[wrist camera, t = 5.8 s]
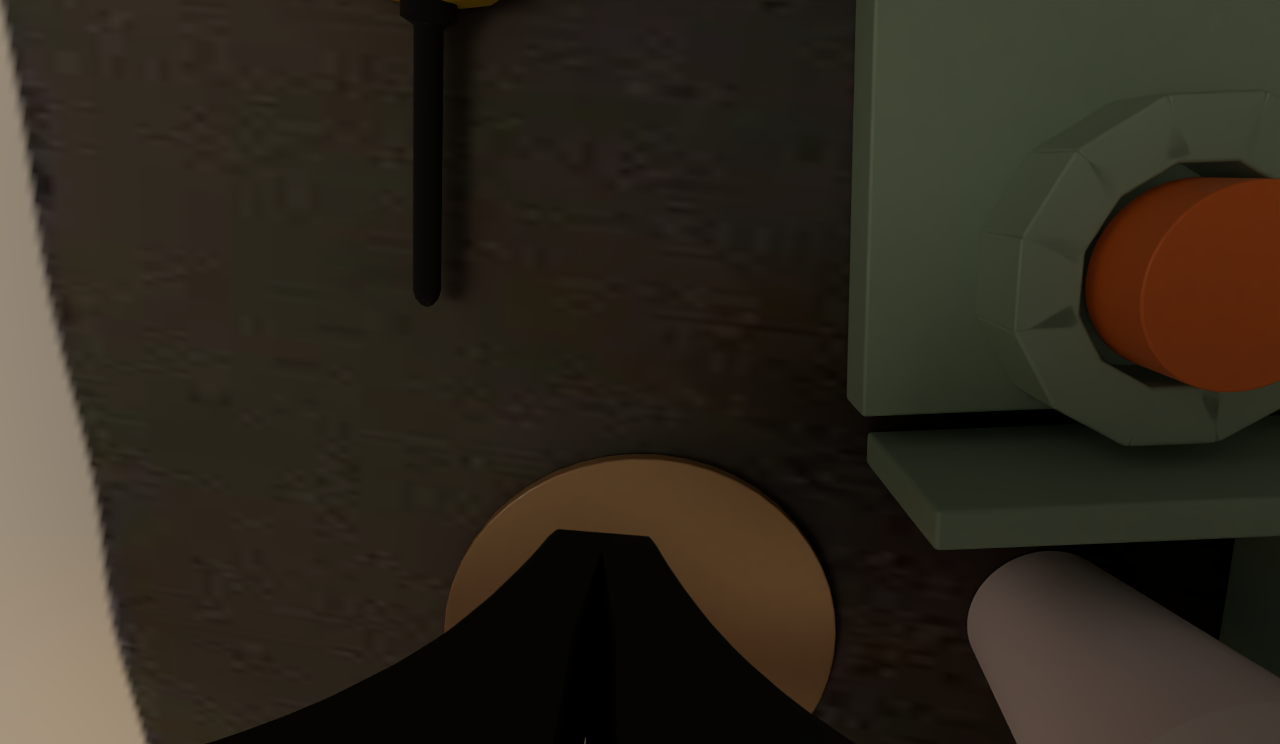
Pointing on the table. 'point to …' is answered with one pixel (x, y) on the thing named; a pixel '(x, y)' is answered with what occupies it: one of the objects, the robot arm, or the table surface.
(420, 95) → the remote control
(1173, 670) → the smoothie
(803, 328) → the table surface
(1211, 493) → the frame
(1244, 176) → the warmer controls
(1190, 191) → the button
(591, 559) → the robot arm
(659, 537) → the coaster
